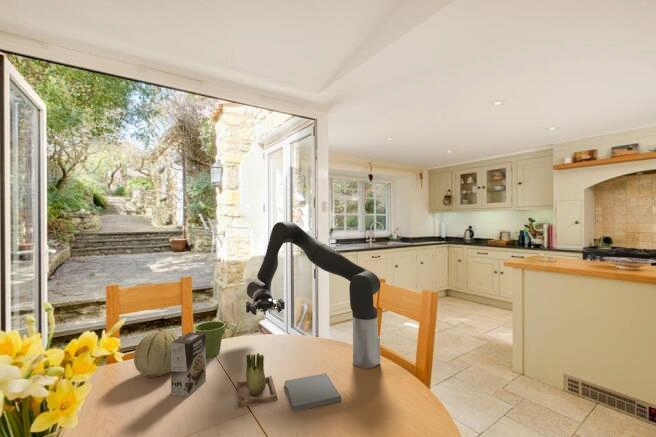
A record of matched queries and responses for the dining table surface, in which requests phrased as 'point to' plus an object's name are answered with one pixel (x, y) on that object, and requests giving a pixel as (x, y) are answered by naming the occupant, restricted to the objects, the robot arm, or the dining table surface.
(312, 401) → the slate board
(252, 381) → the fennel bulb
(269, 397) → the walnut collar
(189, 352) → the coffee box
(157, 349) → the cantaloupe
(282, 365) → the dining table surface
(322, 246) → the robot arm
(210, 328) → the plant pot
